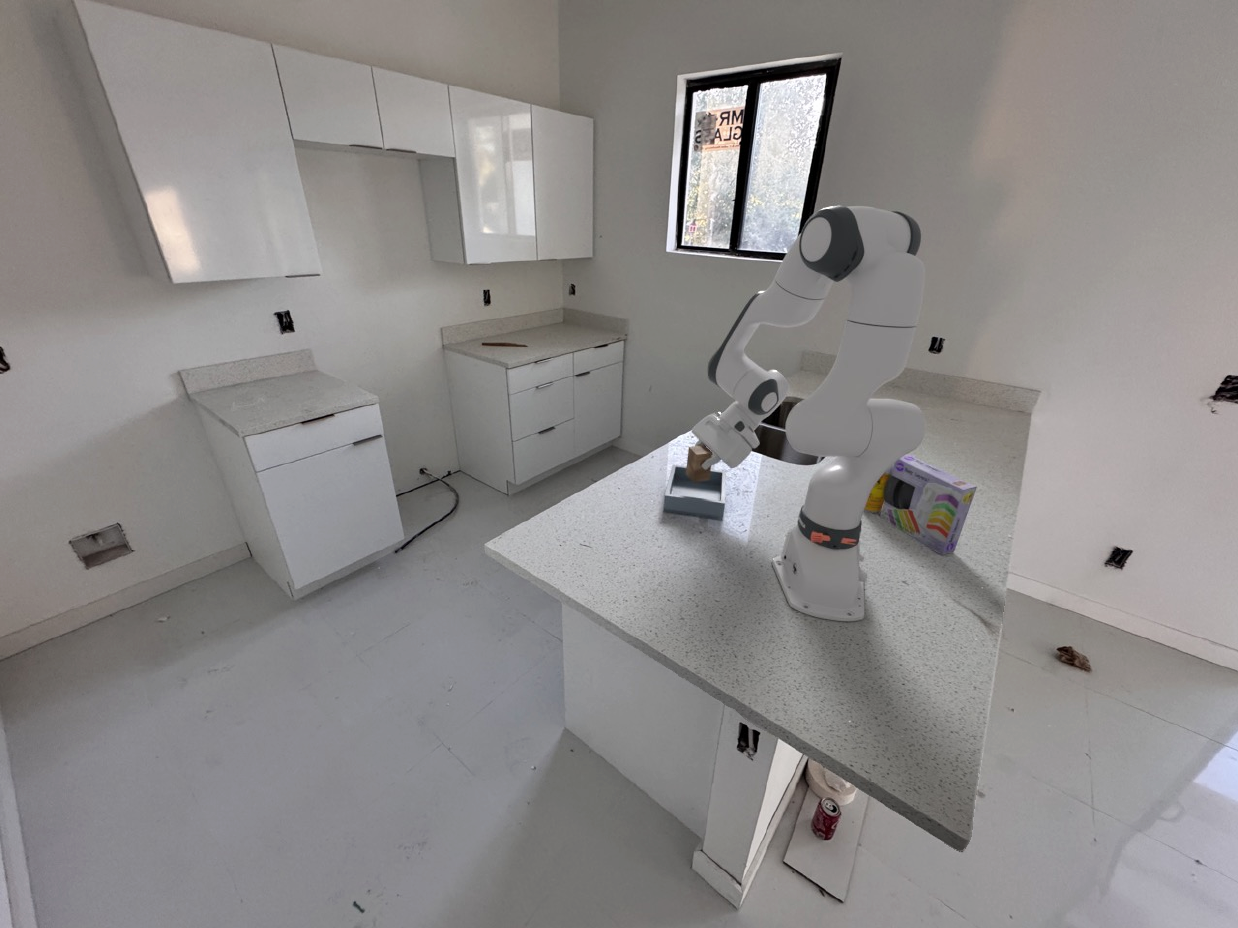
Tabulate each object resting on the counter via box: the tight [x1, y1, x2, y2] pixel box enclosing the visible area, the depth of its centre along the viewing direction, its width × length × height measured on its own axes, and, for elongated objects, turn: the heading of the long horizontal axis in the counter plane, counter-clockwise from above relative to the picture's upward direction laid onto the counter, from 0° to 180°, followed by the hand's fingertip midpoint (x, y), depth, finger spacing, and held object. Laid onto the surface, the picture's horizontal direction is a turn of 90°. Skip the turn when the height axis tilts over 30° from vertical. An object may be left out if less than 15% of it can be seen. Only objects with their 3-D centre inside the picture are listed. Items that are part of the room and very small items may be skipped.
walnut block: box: [686, 445, 713, 482], centre depth 129 cm, size 5×5×8 cm
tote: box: [662, 464, 727, 521], centre depth 133 cm, size 18×15×5 cm
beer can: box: [864, 463, 895, 514], centre depth 130 cm, size 6×6×15 cm
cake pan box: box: [879, 454, 978, 555], centre depth 119 cm, size 19×5×18 cm, turn 21°
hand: (697, 462), depth 129 cm, fingers closed on walnut block, 5 cm apart
